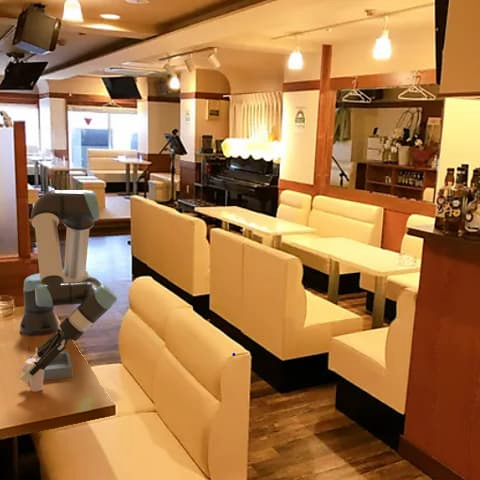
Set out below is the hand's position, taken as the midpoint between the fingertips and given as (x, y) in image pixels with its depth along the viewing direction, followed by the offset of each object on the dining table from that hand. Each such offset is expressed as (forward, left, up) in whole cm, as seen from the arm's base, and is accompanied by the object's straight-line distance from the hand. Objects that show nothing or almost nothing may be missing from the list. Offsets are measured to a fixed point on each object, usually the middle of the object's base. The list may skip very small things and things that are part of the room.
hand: (23, 375), depth 183 cm
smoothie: (-1, +4, -5) cm, 6 cm away
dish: (-15, +2, -5) cm, 16 cm away
